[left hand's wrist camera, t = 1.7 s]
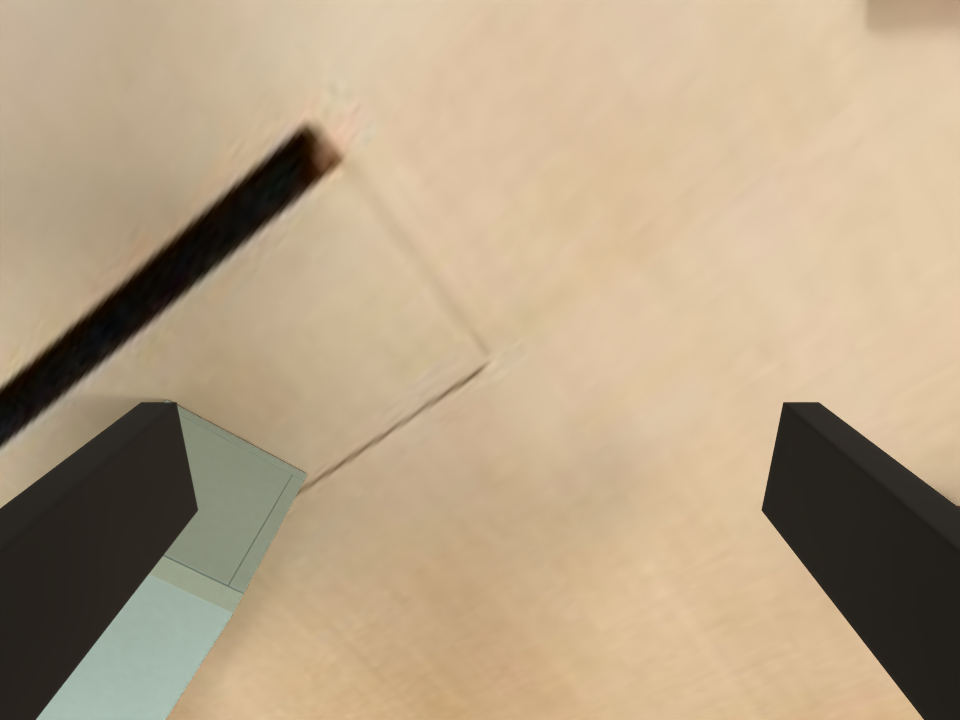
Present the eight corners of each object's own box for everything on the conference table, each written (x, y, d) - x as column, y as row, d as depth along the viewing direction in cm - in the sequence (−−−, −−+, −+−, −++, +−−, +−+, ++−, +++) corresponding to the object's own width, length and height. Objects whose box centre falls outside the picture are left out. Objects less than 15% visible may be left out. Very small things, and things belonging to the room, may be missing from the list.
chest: (195, 653, 41) (107, 808, 31) (67, 596, 39) (-68, 741, 29) (307, 473, 36) (244, 592, 26) (166, 398, 34) (43, 496, 24)
